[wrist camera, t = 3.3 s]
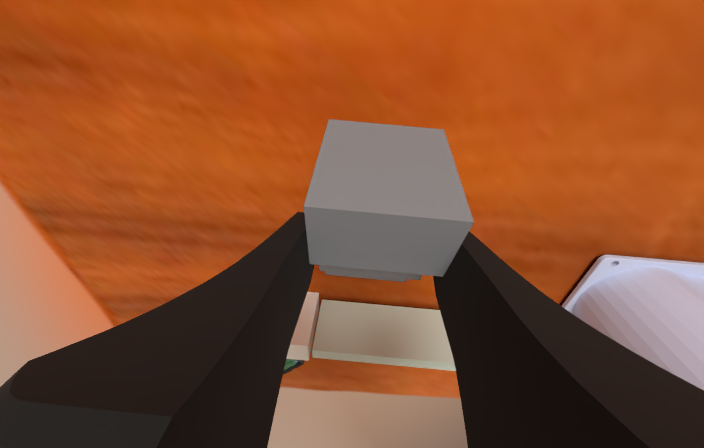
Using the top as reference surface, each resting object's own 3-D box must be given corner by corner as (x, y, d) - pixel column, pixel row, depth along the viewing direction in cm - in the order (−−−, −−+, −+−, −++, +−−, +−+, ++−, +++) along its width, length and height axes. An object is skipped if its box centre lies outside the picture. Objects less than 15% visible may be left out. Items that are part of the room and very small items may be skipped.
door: (469, 312, 24) (488, 366, 20) (460, 330, 25) (477, 383, 21) (321, 299, 24) (312, 350, 20) (321, 317, 25) (312, 367, 21)
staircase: (443, 129, 11) (474, 222, 7) (403, 253, 16) (409, 336, 13) (328, 119, 11) (303, 206, 7) (329, 246, 16) (316, 327, 13)
